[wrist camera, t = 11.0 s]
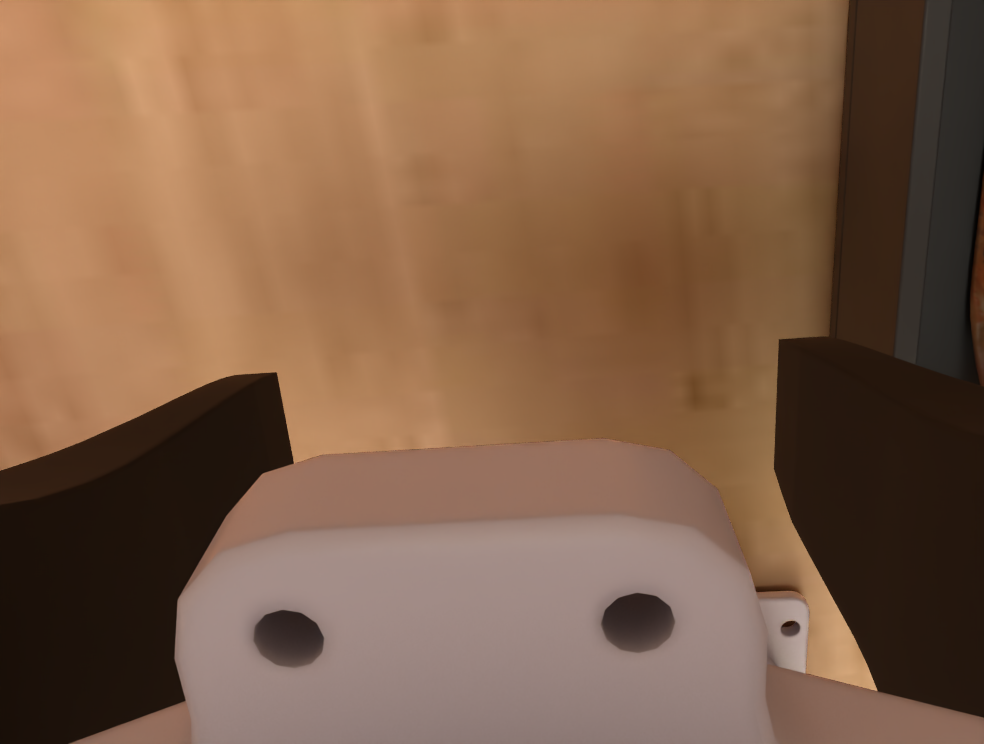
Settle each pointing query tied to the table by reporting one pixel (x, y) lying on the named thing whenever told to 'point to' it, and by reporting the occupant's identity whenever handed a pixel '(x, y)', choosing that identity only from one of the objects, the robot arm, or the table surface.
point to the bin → (910, 181)
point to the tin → (978, 293)
